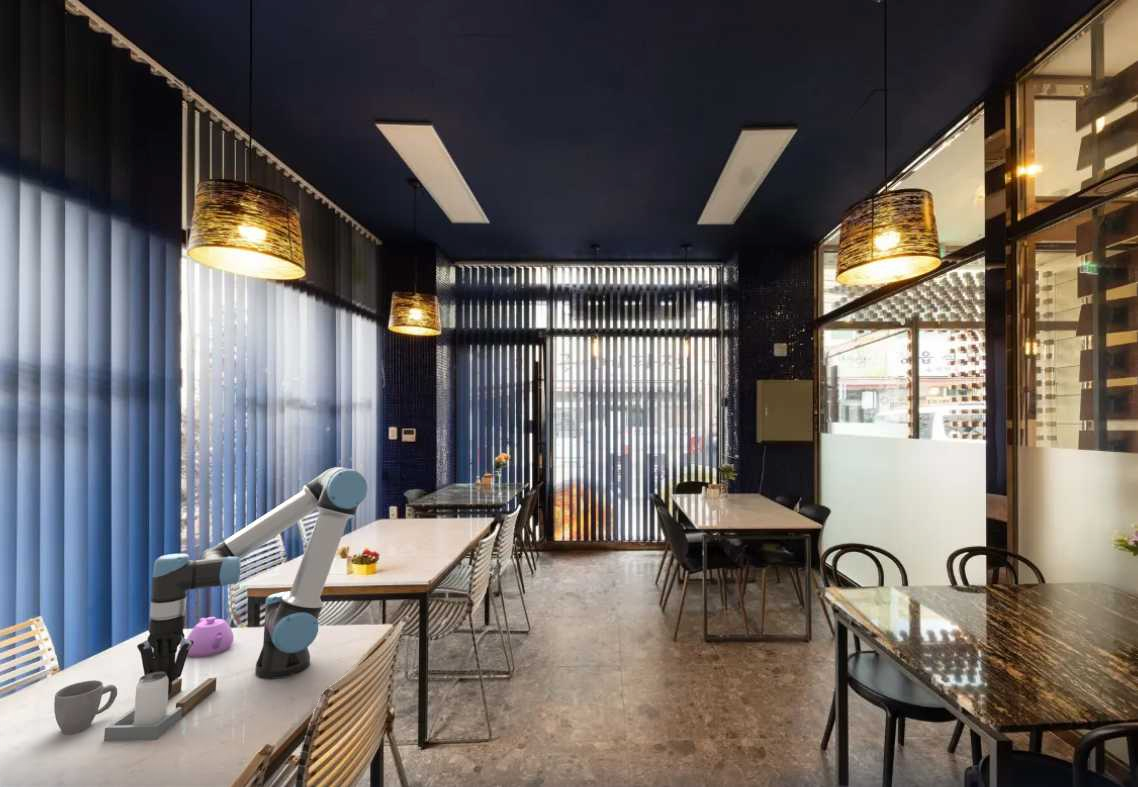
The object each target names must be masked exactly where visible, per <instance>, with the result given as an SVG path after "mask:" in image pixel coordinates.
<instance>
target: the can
mask: <svg viewBox="0 0 1138 787" xmlns="http://www.w3.org/2000/svg"><path fill="white" fill-rule="evenodd" d="M168 684H169V679H168V677H167V673H166V672H154V673H150V674H147V675H144V674H143V675H142V676H141V677H139V679H138V683H137V685H136V686H135V689H136V690H135V699H134V702H135V703H134V708H135V712H134V723H133V725H151V724H157V723H158V722H160V721H161V720H162V719H164V718H165V717H166V716H167V715H168V714H167V713H168V710H167V709H168V705H167V700H168ZM168 701H169V700H168Z"/></svg>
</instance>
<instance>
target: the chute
mask: <svg viewBox="0 0 1138 787" xmlns="http://www.w3.org/2000/svg"><path fill="white" fill-rule="evenodd" d="M182 681H183V679H182V678H180V677H179V678H177V679H176V680H174V681H172V692H171V693H170V694H169V695H168V701H170V700H171V699H173V698H174V697H175V696H177V695H178V694H179V693H181V692H182V684H183V682H182ZM216 691H217V677H208V678H207V679H206V680H205V681H203V682H202V683H201V684H200V685H199V684H198V686H197V687H196V688H194V689H192V691H190V692H189V693H187V694H186V695H185V696H183V697H182V698H181V699H179V700H178V701H176V703H175V709H176V708H178V707H182V718H184V717H185V716H186V715H187V714H189V713H190V712H191V711H193V709H195V708H196V707H197V706H199V705H200V704H202V702H203V701H205V700H206V699H207V698H208V697H210V696H211V695H212V694H213V693H215V692H216Z"/></svg>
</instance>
